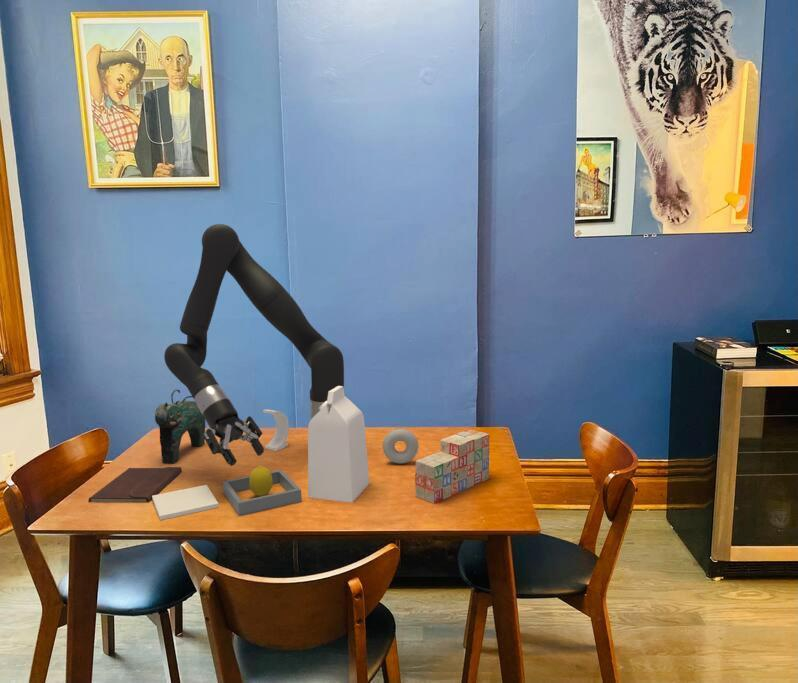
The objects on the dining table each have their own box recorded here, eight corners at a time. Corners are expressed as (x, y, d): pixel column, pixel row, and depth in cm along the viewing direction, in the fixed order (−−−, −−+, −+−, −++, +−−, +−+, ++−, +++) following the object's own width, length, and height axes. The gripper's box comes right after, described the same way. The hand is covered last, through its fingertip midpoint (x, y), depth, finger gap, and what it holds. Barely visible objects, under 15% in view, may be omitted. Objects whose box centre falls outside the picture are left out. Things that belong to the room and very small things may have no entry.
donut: (382, 465, 169) (381, 430, 167) (383, 461, 172) (382, 427, 170) (418, 465, 168) (418, 430, 167) (418, 461, 172) (418, 426, 170)
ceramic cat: (172, 466, 171) (167, 397, 168) (152, 464, 173) (146, 396, 169) (210, 443, 190) (206, 380, 187) (192, 442, 192) (187, 380, 188)
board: (206, 488, 155) (206, 484, 155) (218, 507, 144) (218, 503, 144) (152, 499, 149) (151, 495, 149) (160, 520, 138) (159, 516, 138)
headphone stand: (265, 448, 184) (262, 410, 182) (278, 442, 190) (276, 405, 188) (276, 451, 182) (274, 411, 180) (290, 445, 187) (288, 407, 185)
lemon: (267, 502, 146) (266, 470, 145) (246, 501, 147) (244, 469, 146) (276, 493, 151) (275, 462, 150) (256, 491, 153) (254, 461, 151)
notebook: (88, 504, 148) (87, 496, 148) (128, 473, 168) (128, 466, 167) (149, 504, 147) (148, 496, 147) (182, 473, 167) (181, 466, 167)
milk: (352, 502, 145) (348, 396, 141) (308, 497, 149) (303, 393, 144) (369, 483, 157) (366, 384, 152) (327, 479, 160) (324, 382, 156)
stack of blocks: (434, 504, 144) (433, 454, 142) (414, 497, 148) (414, 448, 146) (489, 478, 159) (489, 433, 157) (470, 472, 163) (470, 428, 161)
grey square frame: (281, 480, 159) (281, 469, 159) (301, 501, 146) (301, 489, 146) (223, 492, 152) (222, 481, 152) (239, 515, 139) (238, 503, 139)
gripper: (197, 404, 147) (231, 459, 143) (244, 392, 159) (276, 442, 154) (185, 422, 151) (218, 475, 147) (232, 409, 163) (263, 458, 158)
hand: (248, 458), depth 150 cm, fingers open, 8 cm apart
